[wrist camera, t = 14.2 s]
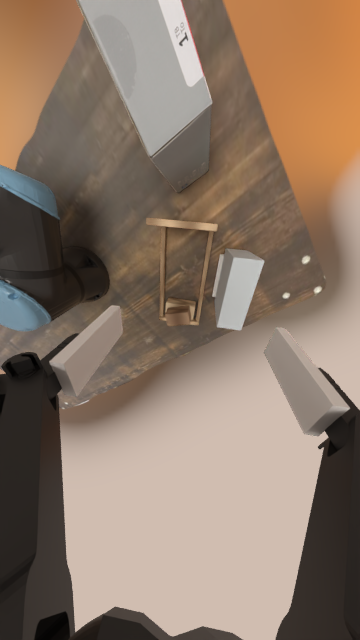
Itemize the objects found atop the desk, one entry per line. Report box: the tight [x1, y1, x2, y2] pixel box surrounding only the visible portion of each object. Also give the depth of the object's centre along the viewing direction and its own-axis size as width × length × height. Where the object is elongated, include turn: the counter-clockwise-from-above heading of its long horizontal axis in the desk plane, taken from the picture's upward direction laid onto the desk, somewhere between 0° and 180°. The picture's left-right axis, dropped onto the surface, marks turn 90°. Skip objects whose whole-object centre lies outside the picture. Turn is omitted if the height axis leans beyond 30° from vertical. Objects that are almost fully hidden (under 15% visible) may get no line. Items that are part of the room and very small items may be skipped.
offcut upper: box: [165, 305, 191, 326], centre depth 43 cm, size 6×4×4 cm, turn 100°
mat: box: [212, 254, 224, 297], centre depth 42 cm, size 7×11×1 cm, turn 175°
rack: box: [146, 218, 218, 325], centre depth 38 cm, size 12×26×12 cm, turn 175°
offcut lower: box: [165, 297, 196, 320], centre depth 46 cm, size 8×4×4 cm, turn 83°
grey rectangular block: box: [214, 248, 264, 330], centre depth 36 cm, size 5×14×13 cm, turn 175°
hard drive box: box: [76, 0, 213, 193], centre depth 22 cm, size 16×8×20 cm, turn 28°
